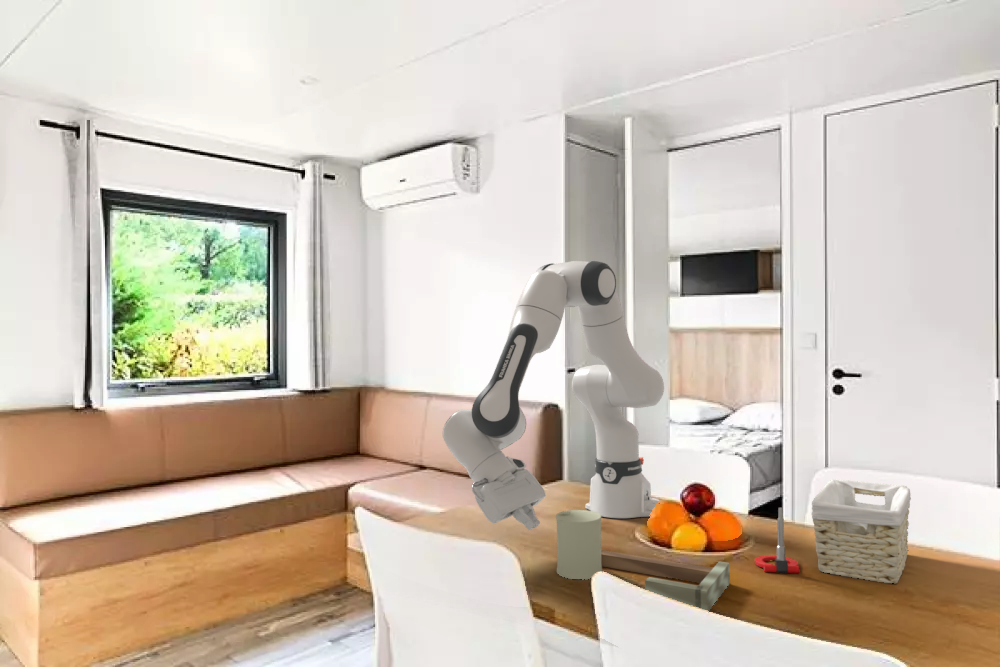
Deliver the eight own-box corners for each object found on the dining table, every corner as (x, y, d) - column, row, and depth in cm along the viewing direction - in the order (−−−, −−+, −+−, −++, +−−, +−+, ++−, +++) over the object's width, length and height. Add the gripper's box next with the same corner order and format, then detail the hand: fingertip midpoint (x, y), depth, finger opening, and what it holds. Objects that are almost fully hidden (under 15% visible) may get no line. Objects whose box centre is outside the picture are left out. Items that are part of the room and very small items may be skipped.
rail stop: (586, 559, 153) (585, 540, 153) (729, 583, 137) (729, 562, 137) (551, 584, 139) (550, 563, 139) (706, 614, 123) (706, 591, 123)
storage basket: (902, 590, 133) (901, 511, 133) (808, 573, 142) (808, 500, 142) (913, 554, 153) (912, 485, 153) (830, 542, 162) (830, 477, 162)
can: (563, 562, 151) (562, 506, 151) (606, 567, 148) (605, 509, 148) (551, 577, 142) (550, 517, 142) (597, 582, 139) (596, 521, 139)
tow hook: (751, 560, 152) (760, 573, 143) (750, 498, 152) (759, 508, 143) (792, 561, 151) (804, 575, 142) (791, 500, 151) (803, 509, 142)
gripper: (477, 474, 145) (519, 529, 140) (526, 458, 162) (565, 507, 157) (459, 494, 147) (500, 549, 142) (509, 476, 165) (547, 524, 160)
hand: (535, 526), depth 150 cm, fingers closed
